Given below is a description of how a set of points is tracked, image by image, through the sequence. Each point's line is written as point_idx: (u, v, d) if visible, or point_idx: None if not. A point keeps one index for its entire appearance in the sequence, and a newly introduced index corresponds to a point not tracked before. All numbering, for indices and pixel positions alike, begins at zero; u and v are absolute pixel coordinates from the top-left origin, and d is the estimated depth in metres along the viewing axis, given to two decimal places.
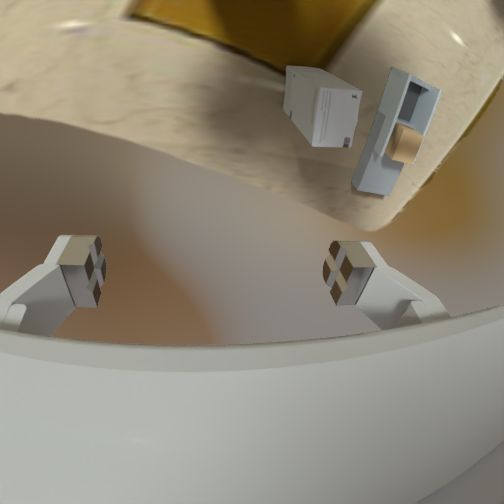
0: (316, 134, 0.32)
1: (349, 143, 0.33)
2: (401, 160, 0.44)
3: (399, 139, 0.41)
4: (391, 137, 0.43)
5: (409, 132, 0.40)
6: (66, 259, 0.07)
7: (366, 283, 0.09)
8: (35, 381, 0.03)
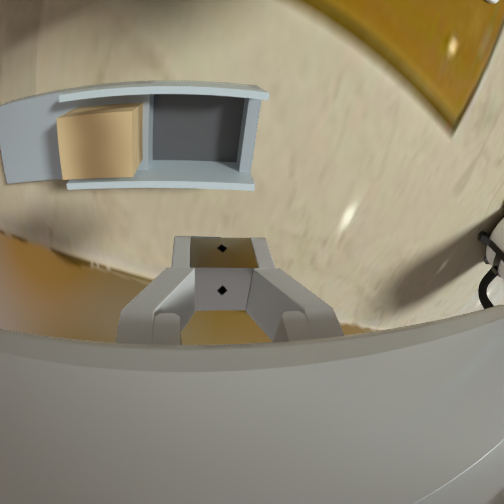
0: None
1: None
2: (61, 145, 0.17)
3: (104, 112, 0.16)
4: (105, 107, 0.18)
5: (128, 130, 0.17)
6: (199, 261, 0.08)
7: (250, 287, 0.08)
8: (35, 381, 0.03)
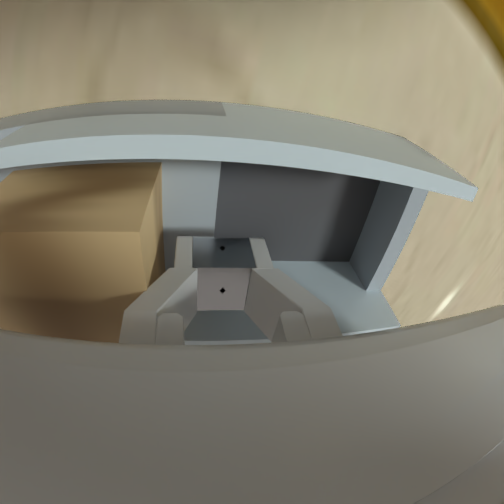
0: None
1: None
2: None
3: (55, 228, 0.05)
4: (65, 184, 0.07)
5: (135, 281, 0.06)
6: (202, 261, 0.08)
7: (248, 287, 0.08)
8: (35, 381, 0.03)
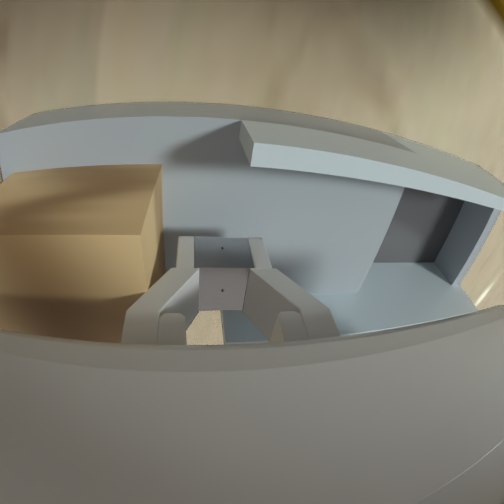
0: None
1: None
2: None
3: (56, 231, 0.05)
4: (66, 186, 0.07)
5: (136, 284, 0.06)
6: (203, 261, 0.08)
7: (247, 287, 0.08)
8: (35, 381, 0.03)
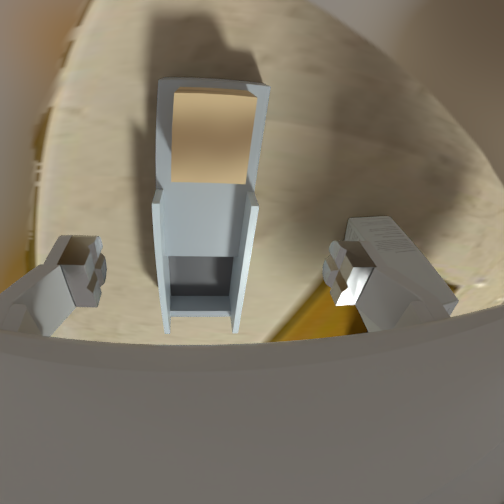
0: (449, 314, 0.21)
1: None
2: (221, 98, 0.15)
3: (248, 154, 0.18)
4: None
5: (225, 180, 0.19)
6: (67, 259, 0.07)
7: (366, 283, 0.09)
8: (35, 381, 0.03)
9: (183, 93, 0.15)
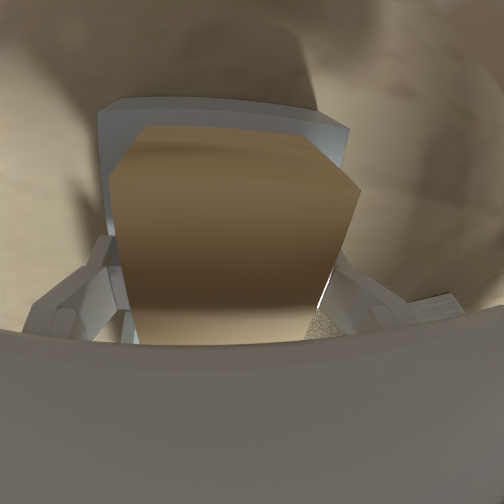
0: None
1: None
2: (259, 193, 0.05)
3: None
4: None
5: None
6: (112, 260, 0.07)
7: (328, 285, 0.09)
8: (35, 381, 0.03)
9: (137, 177, 0.05)
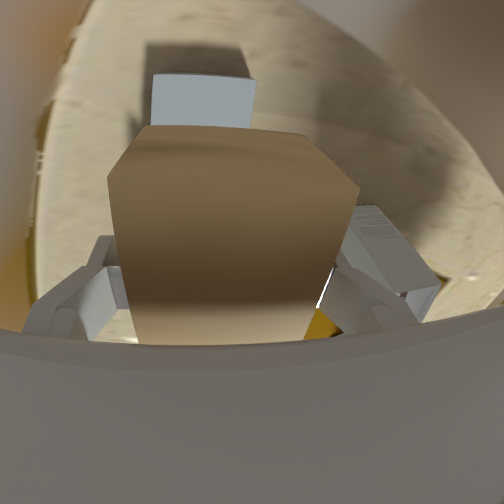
0: (433, 297, 0.23)
1: None
2: (258, 191, 0.05)
3: None
4: None
5: None
6: (113, 260, 0.07)
7: (328, 285, 0.09)
8: (35, 381, 0.03)
9: (136, 176, 0.05)
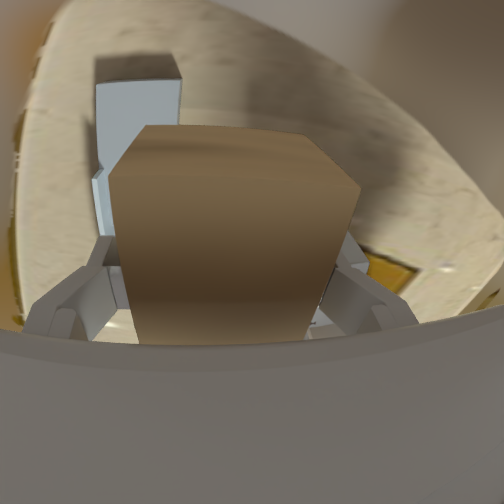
0: None
1: None
2: (259, 191, 0.05)
3: None
4: None
5: None
6: (112, 260, 0.07)
7: (328, 285, 0.09)
8: (35, 381, 0.03)
9: (137, 175, 0.05)
